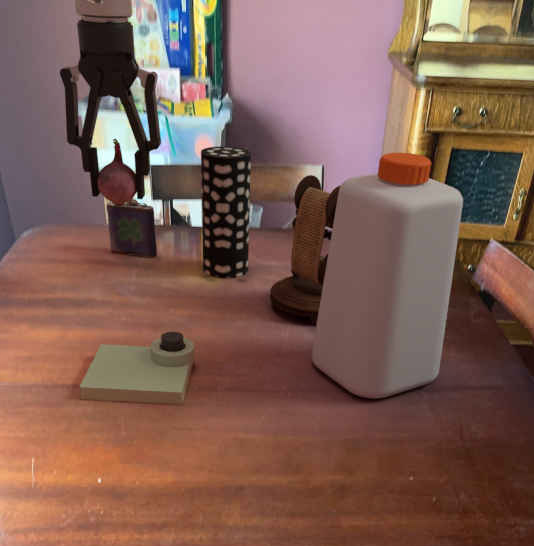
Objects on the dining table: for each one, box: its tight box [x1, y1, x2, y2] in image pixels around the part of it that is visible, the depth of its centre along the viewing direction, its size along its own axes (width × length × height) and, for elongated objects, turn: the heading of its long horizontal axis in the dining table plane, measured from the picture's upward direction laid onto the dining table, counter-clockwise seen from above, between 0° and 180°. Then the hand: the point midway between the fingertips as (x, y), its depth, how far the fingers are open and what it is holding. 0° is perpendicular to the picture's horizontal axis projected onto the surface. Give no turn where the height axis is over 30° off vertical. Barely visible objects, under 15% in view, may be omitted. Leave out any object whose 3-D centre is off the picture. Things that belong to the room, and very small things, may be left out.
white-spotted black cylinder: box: [200, 146, 252, 279], centre depth 118 cm, size 8×8×20 cm
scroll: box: [269, 174, 341, 326], centre depth 106 cm, size 15×15×20 cm
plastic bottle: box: [311, 152, 464, 399], centre depth 87 cm, size 15×15×28 cm
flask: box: [105, 197, 158, 259], centre depth 126 cm, size 9×3×11 cm, turn 76°
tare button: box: [160, 331, 184, 352], centre depth 91 cm, size 3×3×2 cm
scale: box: [79, 336, 196, 406], centre depth 90 cm, size 13×12×4 cm
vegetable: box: [97, 138, 137, 208], centre depth 104 cm, size 6×6×10 cm
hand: (118, 195), depth 106 cm, fingers closed on vegetable, 6 cm apart
